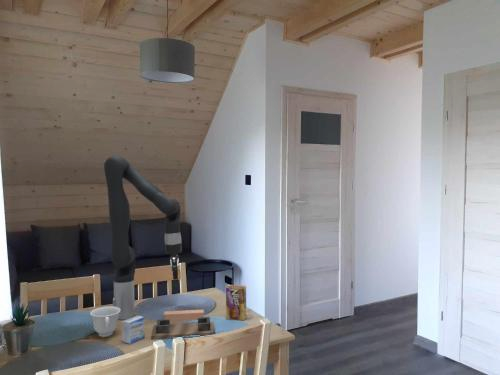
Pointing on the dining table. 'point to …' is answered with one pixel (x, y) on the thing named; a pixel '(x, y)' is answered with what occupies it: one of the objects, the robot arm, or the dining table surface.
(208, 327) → the board
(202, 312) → the slat
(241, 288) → the candy box
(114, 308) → the teacup
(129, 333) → the medicine box
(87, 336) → the dining table surface
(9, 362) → the dining table surface
